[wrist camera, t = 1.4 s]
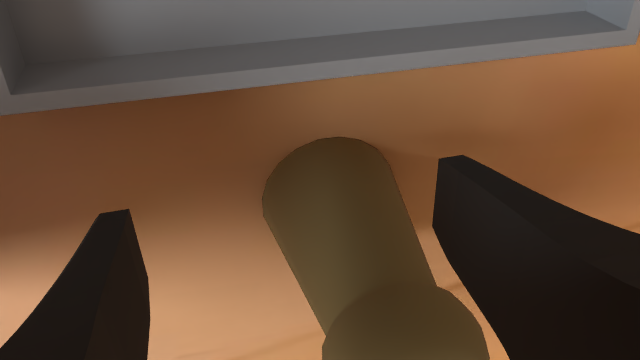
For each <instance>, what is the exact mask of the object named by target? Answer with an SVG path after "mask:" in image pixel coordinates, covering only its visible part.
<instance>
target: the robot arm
mask: <svg viewBox="0 0 640 360" xmlns="http://www.w3.org/2000/svg"><path fill="white" fill-rule="evenodd" d="M432 227H433V229H434V231H435V234H436V236H437V238H438V240H439V243H440V245H441V247H442V249H443V251H444V253H445V255H446V257H447V259H448V261H449V263H450V264H451V266H452V267H453V269H454V271H455V272H456V274H457V275H458V277H459V278H460V280H461V281H462V283H463V285H464V286H465V288H466V289H467V291H468V292H469V294H470V295H471V297H472V298H473V300H474V301H475V303H476V304H477V306H478V307H479V309H480V310H481V312H482V313H483V315H484V316H485V318H486V319H487V321H488V322H489V324H490V326H491V327H492V329H493V330H494V332H495V333H496V335H497V337H498V338H499V340H500V342H501V343H502V345H503V347H504V349H505V351H506V353H507V355H508V357H509V359H510V360H640V234H638V233H635V232H632V231H628V230H625V229H622V228H620V227H617V226H614V225H611V224H609V223H606V222H603V221H601V220H598V219H595V218H592V217H590V216H588V215H585V214H583V213H580V212H578V211H576V210H573V209H571V208H569V207H567V206H564V205H562V204H560V203H558V202H556V201H553V200H551V199H549V198H547V197H545V196H543V195H541V194H539V193H537V192H535V191H533V190H531V189H529V188H527V187H525V186H523V185H521V184H519V183H517V182H515V181H513V180H511V179H510V178H508V177H506V176H504V175H502V174H500V173H498V172H496V171H494V170H492V169H491V168H489V167H487V166H485V165H483V164H481V163H479V162H477V161H475V160H473V159H471V158H468V157H466V156H464V155H459V156H453V157H447V158H441V159H439V163H438V173H437V183H436V193H435V203H434V213H433V223H432ZM149 329H150V302H149V284H148V276H147V272H146V269H145V265H144V262H143V258H142V254H141V251H140V247H139V243H138V240H137V236H136V232H135V229H134V225H133V221H132V218H131V214H130V211H129V209H126V210H120V211H113V212H107V213H101V214H99V216H98V217H97V218H96V219H95V221H94V223H93V224H92V226H91V228H90V229H89V231H88V233H87V234H86V236H85V238H84V239H83V241H82V242H81V244H80V246H79V247H78V249H77V250H76V252H75V254H74V255H73V257H72V258H71V260H70V261H69V263H68V264H67V265H66V267H65V268H64V270H63V271H62V273H61V274H60V276H59V277H58V279H57V280H56V282H55V283H54V284H53V286H52V287H51V288H50V290H49V291H48V292H47V294H46V295H45V296H44V298H43V299H42V300H41V301H40V303H39V304H38V305H37V307H36V308H35V309H34V311H33V312H32V313H31V314H30V316H29V317H28V318H27V319H26V320H25V321H24V323H23V324H22V325H21V326H20V327H19V328H18V330H17V331H16V332H15V333H14V334H13V335H12V336H11V337H10V338H9V340H8V341H7V342H6V343H5V344H4V345H3V346H2V347H1V348H0V360H147V355H148V342H149Z"/></svg>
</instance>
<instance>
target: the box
mask: <svg viewBox="0 0 640 360" xmlns="http://www.w3.org/2000/svg"><path fill="white" fill-rule="evenodd" d="M639 31H640V0H0V116H2V115H11V114H20V113H29V112H38V111H47V110H55V109H64V108H73V107H82V106H91V105H100V104H109V103H118V102H127V101H136V100H145V99H153V98H162V97H171V96H180V95H189V94H198V93H207V92H216V91H225V90H234V89H243V88H251V87H260V86H269V85H278V84H287V83H296V82H305V81H314V80H323V79H332V78H340V77H349V76H358V75H367V74H376V73H385V72H394V71H403V70H412V69H421V68H430V67H438V66H447V65H456V64H465V63H474V62H483V61H492V60H501V59H510V58H519V57H528V56H536V55H545V54H554V53H563V52H572V51H581V50H590V49H599V48H608V47H617V46H625V45H634V44H636V41H637V38H638V35H639Z"/></svg>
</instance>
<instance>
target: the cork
mask: <svg viewBox="0 0 640 360" xmlns="http://www.w3.org/2000/svg"><path fill="white" fill-rule="evenodd" d="M262 203H263V214H264V218H265V220H266V221H267V223H268V225H269V227H270V229H271V231H272V233H273V235H274V237H275V239H276V241H277V243H278V245H279V246H280V248H281V250H282V252H283V254H284V256H285V258H286V260H287V262H288V264H289V266H290V268H291V270H292V272H293V273H294V275H295V277H296V279H297V281H298V283H299V285H300V287H301V289H302V291H303V293H304V295H305V297H306V298H307V300H308V302H309V304H310V306H311V308H312V310H313V312H314V314H315V316H316V318H317V320H318V322H319V324H320V325H321V327H322V329H323V331H324V333H325V335H326V338H325V341H324V343H323V346H322V360H490V357H489V353H488V349H487V345H486V341H485V338H484V335H483V331H482V328H481V326H480V325H479V323H478V322H477V320H476V319H475V317H474V316H473V314H472V313H471V312H470V311H469V310H468V309H467V308H466V307H465V305H464V304H463V303H462V302H461V301H460V300H458V299H457V298H456V297H455V296H454V295H453V294H452V293H450V292H449V291H447V290H445V289H442V288H440V287H437V285H436V283H435V280H434V278H433V275H432V273H431V270H430V267H429V265H428V262H427V260H426V257H425V255H424V252H423V250H422V247H421V245H420V242H419V240H418V237H417V234H416V232H415V229H414V227H413V224H412V222H411V219H410V217H409V214H408V212H407V209H406V207H405V204H404V202H403V199H402V196H401V194H400V191H399V189H398V186H397V184H396V181H395V179H394V176H393V174H392V171H391V169H390V166H389V164H388V162H387V160H386V159H385V158H384V157H383V156H382V155H381V153H380V152H379V151H378V150H377V149H376V148H374V147H372V146H370V145H368V144H367V143H365V142H363V141H361V140H357V139H350V138H344V137H335V138H327V139H320V140H316V141H314V142H311V143H309V144H307V145H304V146H302V147H300V148H298V149H296V150H295V151H293V152H292V153H291V154H290V155H288V156H287V157H286V158H285V159H283V160H282V161H281V162H280V163H279V164H278V165H277V167H276V168H275V170H274V171H273V173H272V174H271V176H270V177H269V178H268V180H267V183H266V187H265V190H264V193H263V197H262Z"/></svg>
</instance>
